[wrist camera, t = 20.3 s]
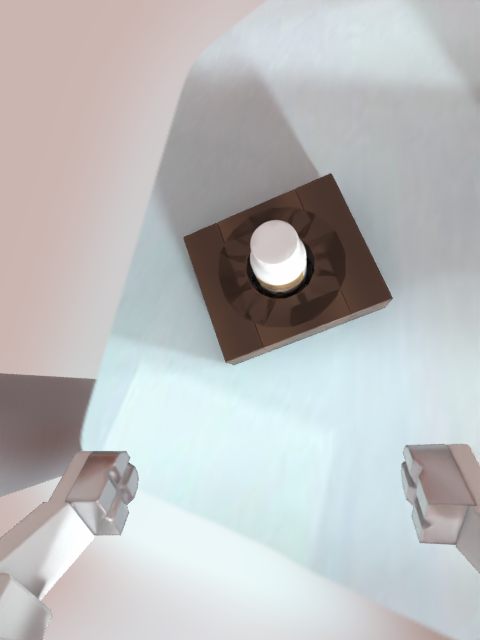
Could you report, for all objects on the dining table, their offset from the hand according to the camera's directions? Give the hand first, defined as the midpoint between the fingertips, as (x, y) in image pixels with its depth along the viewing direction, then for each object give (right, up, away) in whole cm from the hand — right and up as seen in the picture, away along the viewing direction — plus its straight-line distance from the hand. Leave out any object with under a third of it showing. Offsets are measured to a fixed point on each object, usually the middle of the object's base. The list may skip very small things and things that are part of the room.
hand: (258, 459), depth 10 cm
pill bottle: (+3, +8, +22) cm, 24 cm away
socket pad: (+3, +8, +22) cm, 23 cm away
